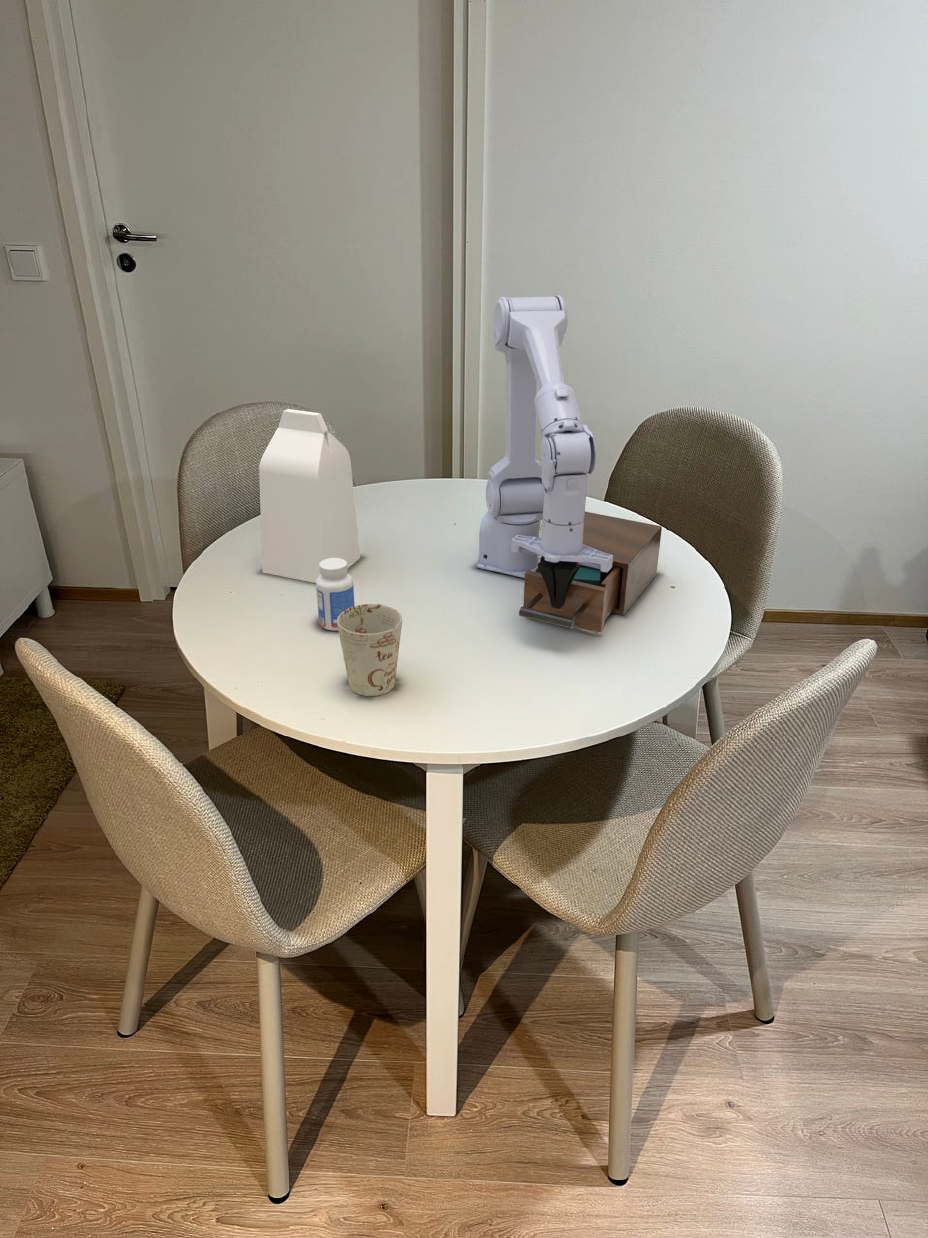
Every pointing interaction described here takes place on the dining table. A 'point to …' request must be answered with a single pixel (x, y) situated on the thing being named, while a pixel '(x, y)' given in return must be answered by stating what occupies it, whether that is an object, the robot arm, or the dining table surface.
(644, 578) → the cabinet
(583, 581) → the tea box
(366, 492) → the dining table surface
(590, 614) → the drawer
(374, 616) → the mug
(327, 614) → the pill bottle
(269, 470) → the milk
